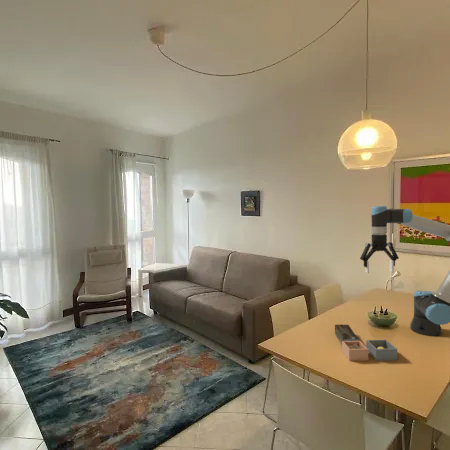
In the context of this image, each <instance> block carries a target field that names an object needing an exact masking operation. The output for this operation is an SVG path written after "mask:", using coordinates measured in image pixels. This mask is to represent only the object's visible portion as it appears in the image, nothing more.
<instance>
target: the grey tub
mask: <svg viewBox="0 0 450 450" xmlns="http://www.w3.org/2000/svg"><path fill="white" fill-rule="evenodd" d="M365 342H366V343H365V344H366V345H365V346H366V347H367V348H368V355H370V356H371V357H372V358H373V359H374V360H375V362H377V361H378V362H379V361H382V362H384V361H398V348H397V347H396V346H394V345H393V344H392V343H391V342H390V341H389V340H387V339H367V340H365ZM378 347H383V348H384V349H377V348H378Z"/></svg>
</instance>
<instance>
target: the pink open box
mask: <svg viewBox="0 0 450 450" xmlns="http://www.w3.org/2000/svg"><path fill="white" fill-rule="evenodd" d="M354 344H356V345H357V346H359V347H361V348H362V349H350V348H349V347H348V345H354ZM341 352H342V354H343V355H344V356H345V358H346V359H347V360H348V361H349V362H352V361H354V362H355V361H356V362H358V361H361V362H363V361H369V353H368V348H367V347H366V345H365V344H363V342H362V341H361V340H359V341H342V345H341Z"/></svg>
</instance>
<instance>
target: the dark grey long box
mask: <svg viewBox="0 0 450 450" xmlns="http://www.w3.org/2000/svg"><path fill="white" fill-rule="evenodd" d="M334 334H335V336H336V338H337V340H338V342H339V343H340V345H341V346H342V341H360V340H359V338H358V336H357V335H356V334H355V332H354V331H353V329H352V328H351V326H350V325H349V324H334Z"/></svg>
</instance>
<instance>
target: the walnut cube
mask: <svg viewBox="0 0 450 450" xmlns="http://www.w3.org/2000/svg"><path fill="white" fill-rule="evenodd" d="M348 347H349V348H350V349H362V348H361V347H359V346H357V345H356V344H354V345H348Z"/></svg>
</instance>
